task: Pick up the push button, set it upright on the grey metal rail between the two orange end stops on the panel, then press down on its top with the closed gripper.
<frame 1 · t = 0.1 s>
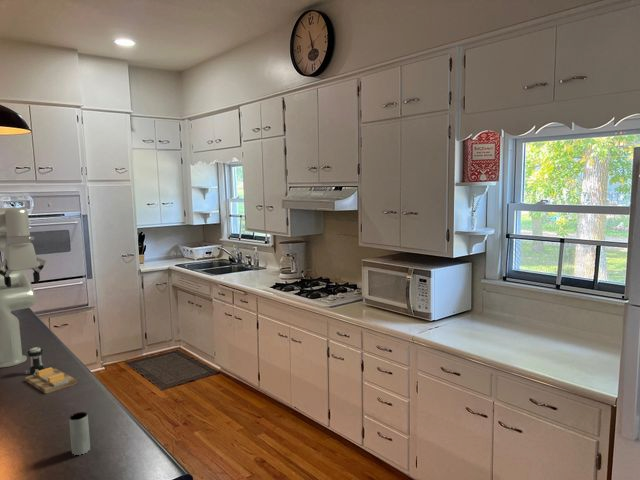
hand: (22, 284, 181), 37 cm above the counter, tool pointing down, fingers open, 9 cm apart
end stops: (50, 374, 178), on the din rail, point 3 cm above the counter
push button: (35, 373, 188), on the counter
planter: (81, 452, 129), on the counter
din rail: (50, 377, 178), on the din panel, point 1 cm above the counter
din panel: (51, 382, 178), on the counter
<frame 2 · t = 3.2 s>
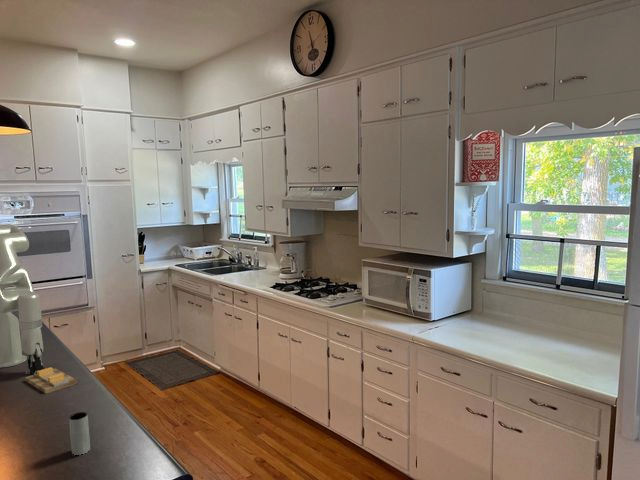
hand: (35, 368, 187), 2 cm above the counter, tool pointing down, fingers closed on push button, 3 cm apart
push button: (35, 373, 188), on the counter, touching gripper
everything else where it was.
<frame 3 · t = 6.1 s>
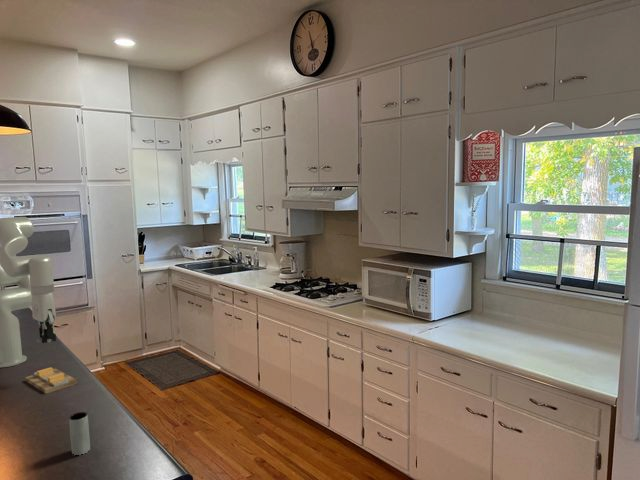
hand: (46, 337, 176), 17 cm above the counter, tool pointing down, fingers closed on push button, 3 cm apart
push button: (47, 342, 177), point 16 cm above the counter, touching gripper
everything else where it was.
when the fingers open (5 cm above the counter, at t = 8.8 s): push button stays where it is, resting on din rail.
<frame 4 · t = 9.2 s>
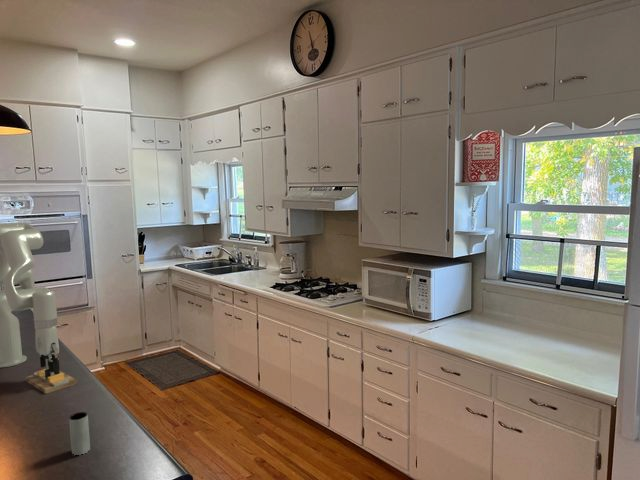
hand: (50, 368, 177), 6 cm above the counter, tool pointing down, fingers open, 7 cm apart
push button: (50, 376, 178), point 2 cm above the counter, touching din rail
everything else where it was.
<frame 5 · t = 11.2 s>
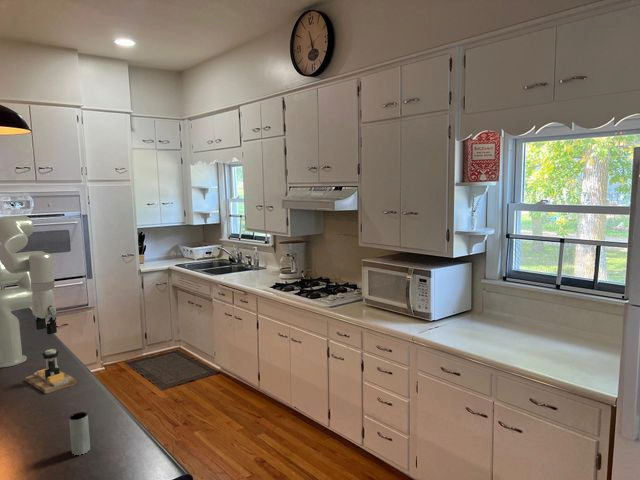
hand: (46, 331, 176), 20 cm above the counter, tool pointing down, fingers open, 9 cm apart
nothing on the counter moved.
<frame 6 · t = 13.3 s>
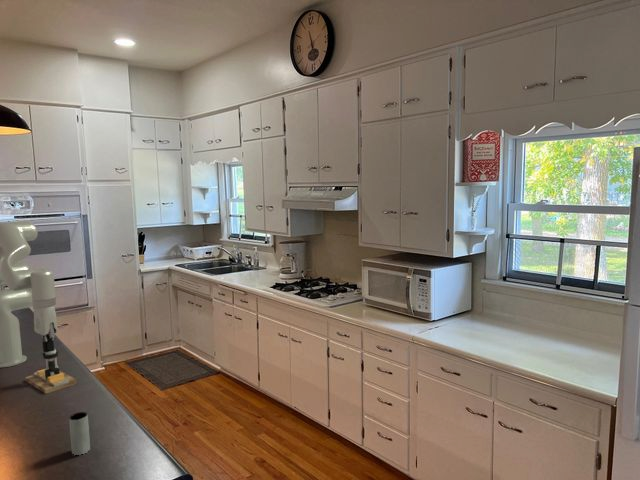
hand: (48, 350, 176), 12 cm above the counter, tool pointing down, fingers closed
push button: (50, 376, 178), point 2 cm above the counter, touching din rail, gripper
everything else where it was.
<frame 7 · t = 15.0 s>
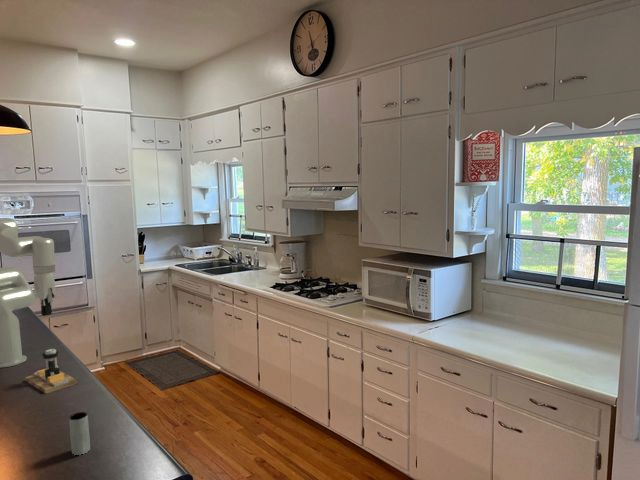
hand: (46, 314, 187), 23 cm above the counter, tool pointing down, fingers closed
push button: (50, 376, 178), point 2 cm above the counter, touching din rail
everything else where it was.
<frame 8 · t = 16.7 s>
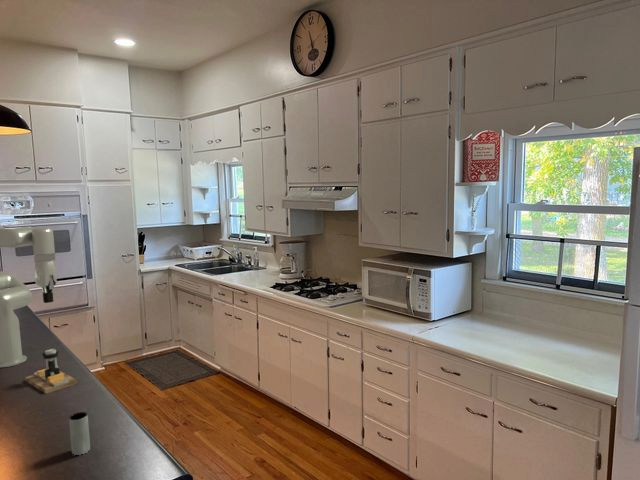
hand: (48, 302, 193), 27 cm above the counter, tool pointing down, fingers closed
nothing on the counter moved.
at the end: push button 0.3 cm off-centre on the din rail, point 2.1 cm above the din rail's base; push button tilted 0°; the gripper is holding nothing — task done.
